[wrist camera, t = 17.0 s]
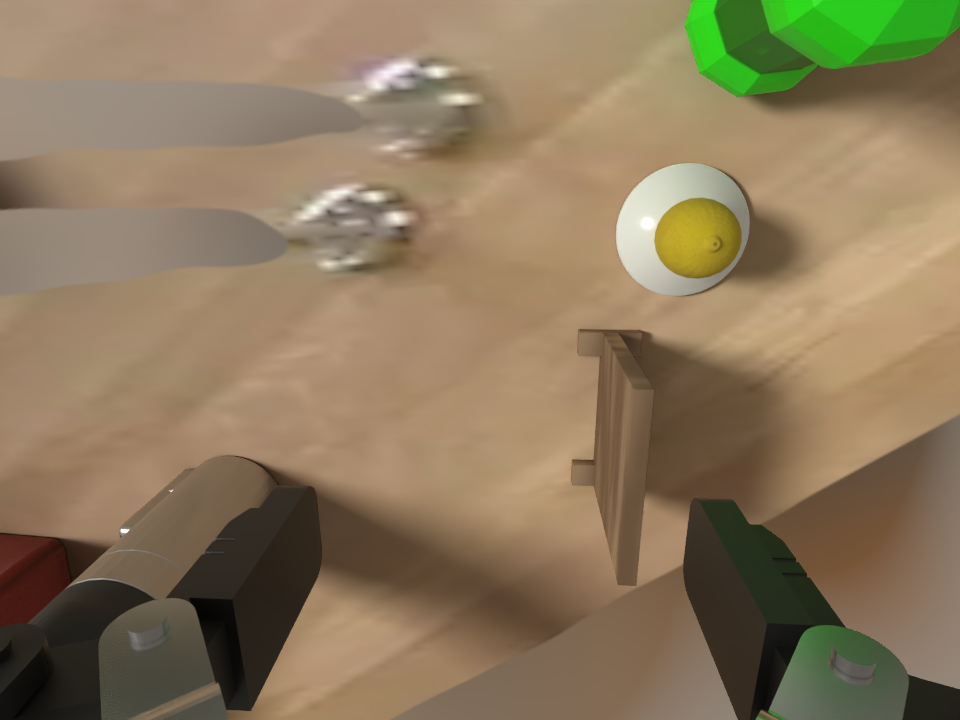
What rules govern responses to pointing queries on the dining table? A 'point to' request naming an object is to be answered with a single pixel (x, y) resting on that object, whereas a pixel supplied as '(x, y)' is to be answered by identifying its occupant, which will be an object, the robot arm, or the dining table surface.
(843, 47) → the plastic bottle
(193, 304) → the dining table surface
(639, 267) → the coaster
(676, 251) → the lemon
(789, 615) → the robot arm
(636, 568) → the walnut screen
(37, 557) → the plant pot
